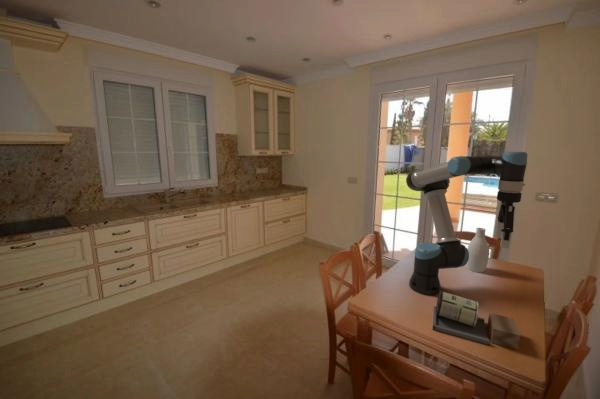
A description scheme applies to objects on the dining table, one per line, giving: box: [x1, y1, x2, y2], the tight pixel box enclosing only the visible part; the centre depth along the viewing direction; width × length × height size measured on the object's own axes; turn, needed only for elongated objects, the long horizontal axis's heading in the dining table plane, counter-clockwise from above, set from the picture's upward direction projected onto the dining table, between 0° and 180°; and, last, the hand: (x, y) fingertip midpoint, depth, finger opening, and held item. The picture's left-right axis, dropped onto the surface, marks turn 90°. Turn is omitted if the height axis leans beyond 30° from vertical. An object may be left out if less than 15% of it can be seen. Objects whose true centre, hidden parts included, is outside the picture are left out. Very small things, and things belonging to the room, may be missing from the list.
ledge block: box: [486, 312, 521, 351], centre depth 104 cm, size 8×11×6 cm
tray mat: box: [432, 306, 491, 346], centre depth 111 cm, size 19×15×2 cm
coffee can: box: [435, 289, 480, 327], centre depth 112 cm, size 10×10×14 cm
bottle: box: [466, 227, 490, 273], centre depth 158 cm, size 11×11×25 cm
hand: (502, 242), depth 110 cm, fingers open, 13 cm apart
